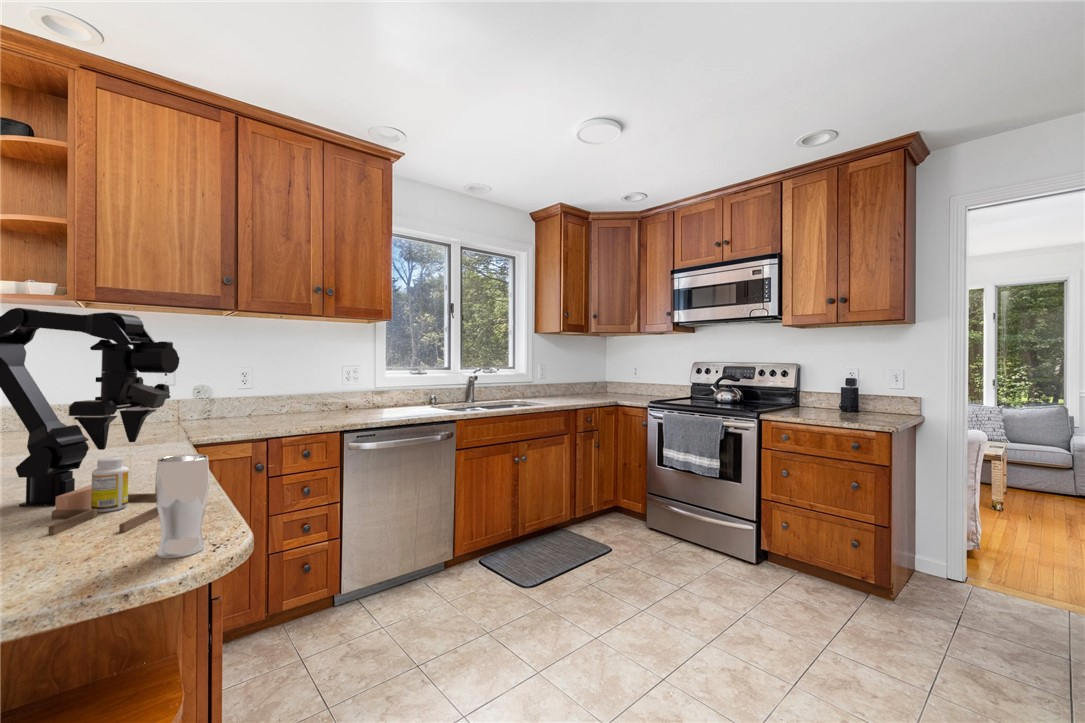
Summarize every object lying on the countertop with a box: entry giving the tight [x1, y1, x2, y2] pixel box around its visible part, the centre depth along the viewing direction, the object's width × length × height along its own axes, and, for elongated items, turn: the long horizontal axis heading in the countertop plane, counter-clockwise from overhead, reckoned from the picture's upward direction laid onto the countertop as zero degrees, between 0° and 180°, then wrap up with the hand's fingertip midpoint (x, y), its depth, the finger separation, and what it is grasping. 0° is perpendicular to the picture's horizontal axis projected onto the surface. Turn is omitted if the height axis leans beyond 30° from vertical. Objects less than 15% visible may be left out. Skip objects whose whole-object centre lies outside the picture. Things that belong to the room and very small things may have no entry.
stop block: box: [54, 484, 92, 510], centre depth 97 cm, size 2×10×4 cm, turn 10°
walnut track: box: [47, 492, 159, 536], centre depth 93 cm, size 18×21×2 cm
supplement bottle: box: [90, 456, 129, 513], centre depth 98 cm, size 6×6×10 cm
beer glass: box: [154, 453, 210, 560], centre depth 77 cm, size 7×7×15 cm
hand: (117, 445), depth 102 cm, fingers open, 9 cm apart
